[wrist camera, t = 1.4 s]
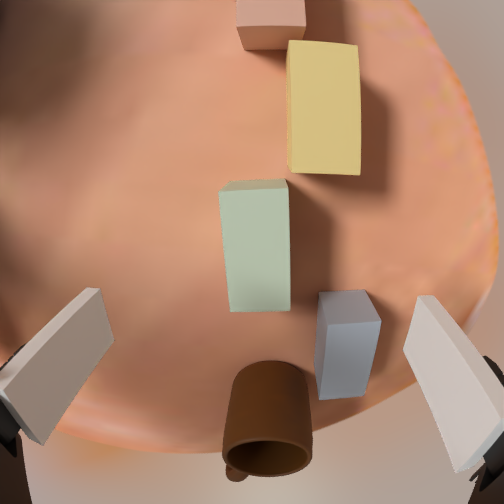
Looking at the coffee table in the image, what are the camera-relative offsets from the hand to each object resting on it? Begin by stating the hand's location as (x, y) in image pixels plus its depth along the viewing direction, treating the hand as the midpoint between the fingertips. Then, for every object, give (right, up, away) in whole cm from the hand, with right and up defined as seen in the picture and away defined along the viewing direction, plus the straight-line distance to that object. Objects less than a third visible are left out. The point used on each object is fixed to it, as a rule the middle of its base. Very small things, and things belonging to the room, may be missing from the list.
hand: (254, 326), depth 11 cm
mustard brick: (+4, +13, +8) cm, 16 cm away
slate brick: (+8, -4, +14) cm, 17 cm away
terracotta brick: (+1, +21, +5) cm, 22 cm away
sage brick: (+1, +4, +12) cm, 12 cm away
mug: (+1, -12, +18) cm, 22 cm away
